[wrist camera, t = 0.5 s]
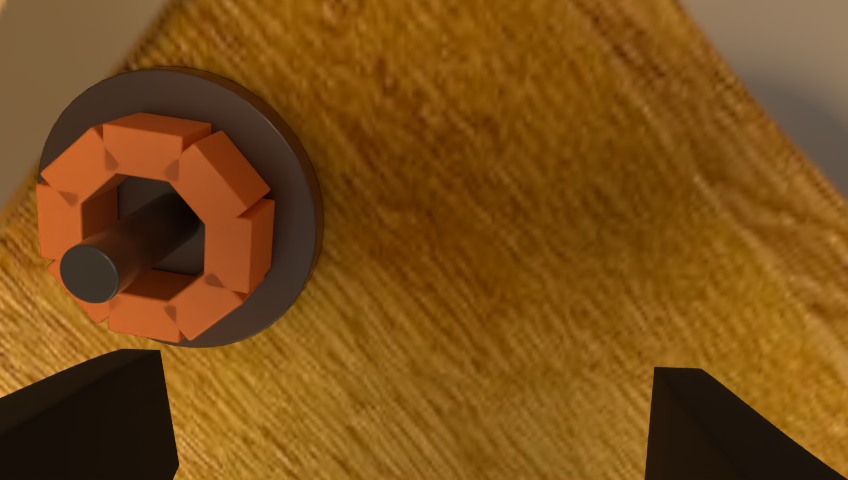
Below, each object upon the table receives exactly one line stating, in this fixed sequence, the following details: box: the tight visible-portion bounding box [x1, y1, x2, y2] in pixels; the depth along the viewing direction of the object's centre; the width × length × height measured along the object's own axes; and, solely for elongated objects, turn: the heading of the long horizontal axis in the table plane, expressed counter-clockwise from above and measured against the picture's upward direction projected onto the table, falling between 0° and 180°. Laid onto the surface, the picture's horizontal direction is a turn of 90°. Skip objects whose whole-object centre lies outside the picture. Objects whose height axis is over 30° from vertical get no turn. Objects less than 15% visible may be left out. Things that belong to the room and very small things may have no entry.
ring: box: [36, 112, 275, 343], centre depth 19 cm, size 6×6×2 cm
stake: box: [38, 66, 324, 348], centre depth 18 cm, size 8×8×5 cm
